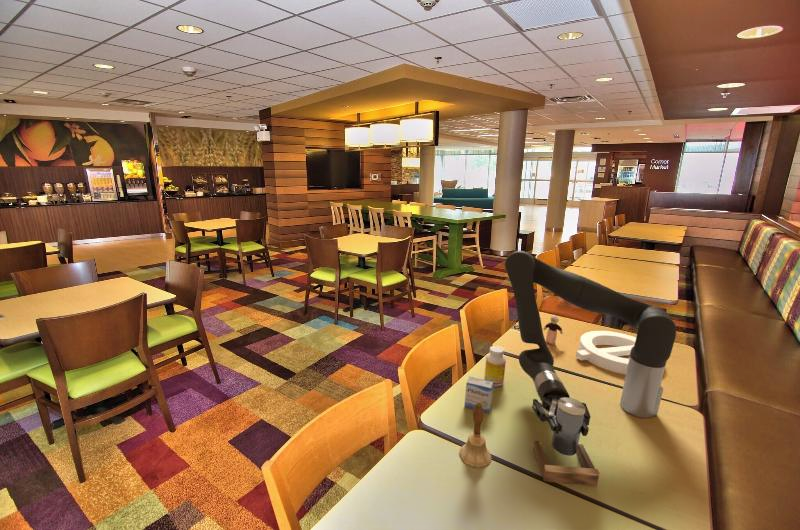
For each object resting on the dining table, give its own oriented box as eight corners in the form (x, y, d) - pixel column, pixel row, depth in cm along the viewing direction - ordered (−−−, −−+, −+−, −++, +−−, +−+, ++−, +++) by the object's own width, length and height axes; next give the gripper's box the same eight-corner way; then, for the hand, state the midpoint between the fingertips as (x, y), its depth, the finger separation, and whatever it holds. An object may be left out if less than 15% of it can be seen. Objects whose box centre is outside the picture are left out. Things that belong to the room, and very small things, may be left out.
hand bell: (485, 472, 93) (490, 418, 89) (454, 459, 97) (457, 406, 93) (495, 451, 100) (500, 400, 96) (466, 439, 104) (470, 389, 100)
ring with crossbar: (658, 352, 154) (661, 342, 153) (659, 385, 132) (662, 373, 130) (584, 334, 169) (585, 325, 168) (573, 361, 146) (575, 350, 145)
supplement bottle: (504, 388, 128) (507, 354, 124) (484, 386, 129) (487, 352, 125) (502, 377, 134) (506, 345, 130) (483, 375, 135) (486, 343, 132)
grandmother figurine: (541, 343, 160) (545, 316, 156) (541, 339, 163) (545, 312, 159) (561, 347, 157) (565, 319, 153) (561, 343, 160) (565, 315, 157)
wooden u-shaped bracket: (580, 453, 100) (583, 441, 99) (596, 485, 90) (599, 472, 89) (533, 450, 101) (534, 438, 100) (544, 481, 91) (545, 468, 90)
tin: (572, 438, 97) (580, 398, 94) (581, 457, 91) (589, 414, 88) (547, 436, 98) (554, 396, 94) (555, 454, 92) (562, 412, 88)
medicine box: (464, 406, 118) (465, 382, 116) (467, 398, 122) (468, 375, 120) (489, 413, 115) (491, 388, 113) (491, 404, 119) (494, 381, 117)
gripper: (526, 376, 106) (543, 416, 90) (579, 380, 105) (605, 421, 89) (523, 399, 108) (539, 442, 92) (574, 403, 107) (599, 447, 91)
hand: (571, 431), depth 90 cm, fingers closed on tin, 6 cm apart
